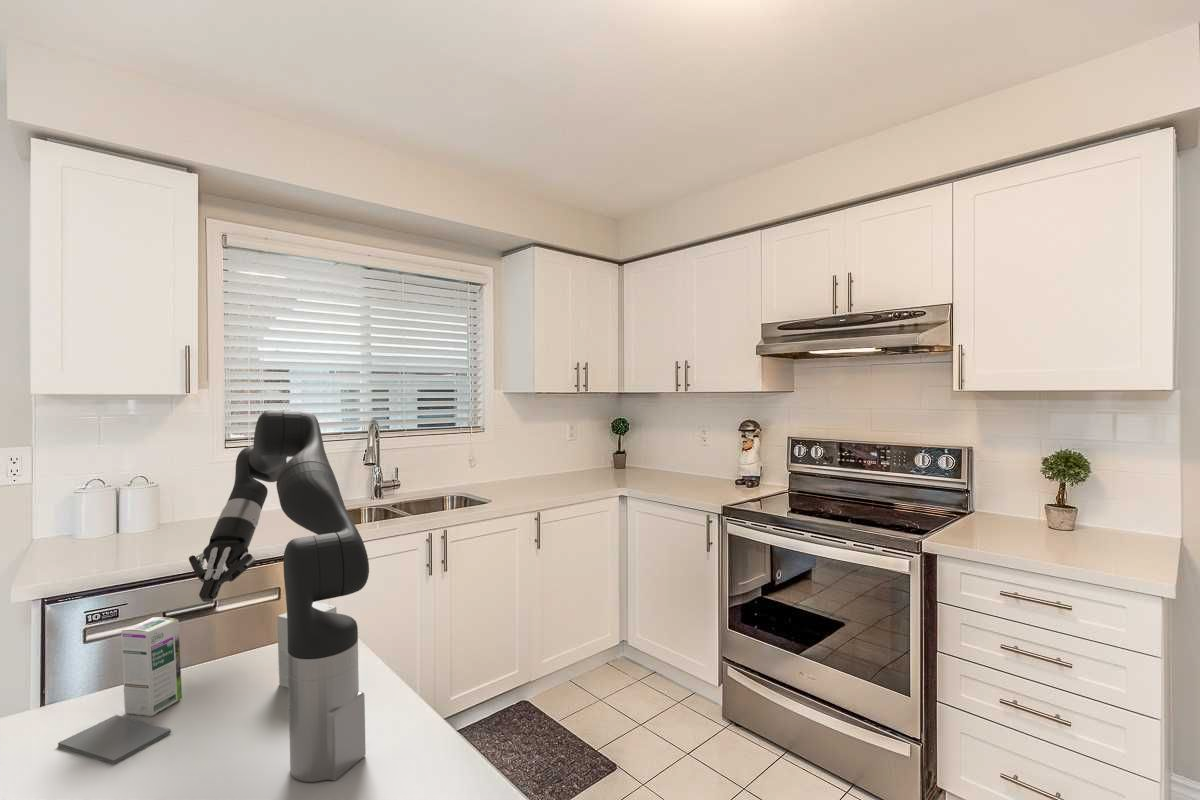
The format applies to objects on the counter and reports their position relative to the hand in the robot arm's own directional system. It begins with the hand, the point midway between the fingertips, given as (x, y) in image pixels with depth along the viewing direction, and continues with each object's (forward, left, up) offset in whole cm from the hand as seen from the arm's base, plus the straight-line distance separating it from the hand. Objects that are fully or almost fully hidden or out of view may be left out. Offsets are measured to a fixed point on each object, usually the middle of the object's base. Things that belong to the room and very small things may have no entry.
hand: (206, 600), depth 116 cm
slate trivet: (-11, +23, -13) cm, 29 cm away
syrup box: (-7, +15, -13) cm, 21 cm away
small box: (-25, -1, -13) cm, 28 cm away
